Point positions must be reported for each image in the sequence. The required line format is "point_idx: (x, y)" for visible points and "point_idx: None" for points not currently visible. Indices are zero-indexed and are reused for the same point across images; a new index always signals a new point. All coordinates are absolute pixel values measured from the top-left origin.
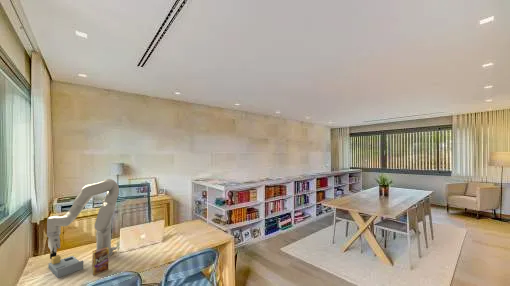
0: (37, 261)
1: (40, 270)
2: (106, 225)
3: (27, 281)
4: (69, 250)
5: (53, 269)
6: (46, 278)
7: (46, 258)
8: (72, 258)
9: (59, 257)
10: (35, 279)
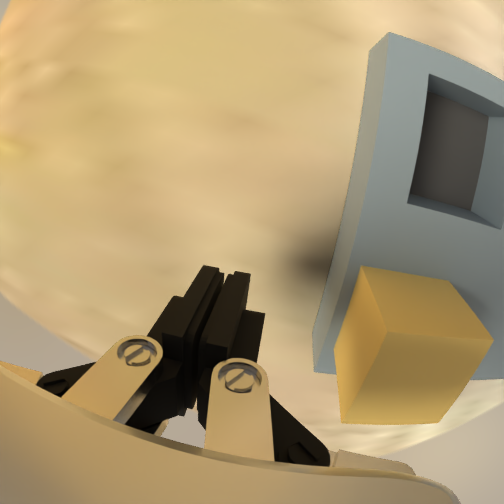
0: (45, 299)
1: (298, 384)
2: None
3: (392, 452)
4: (19, 14)
5: (500, 375)
6: (488, 391)
7: (27, 230)
8: (454, 89)
9: (479, 345)
10: (422, 430)
